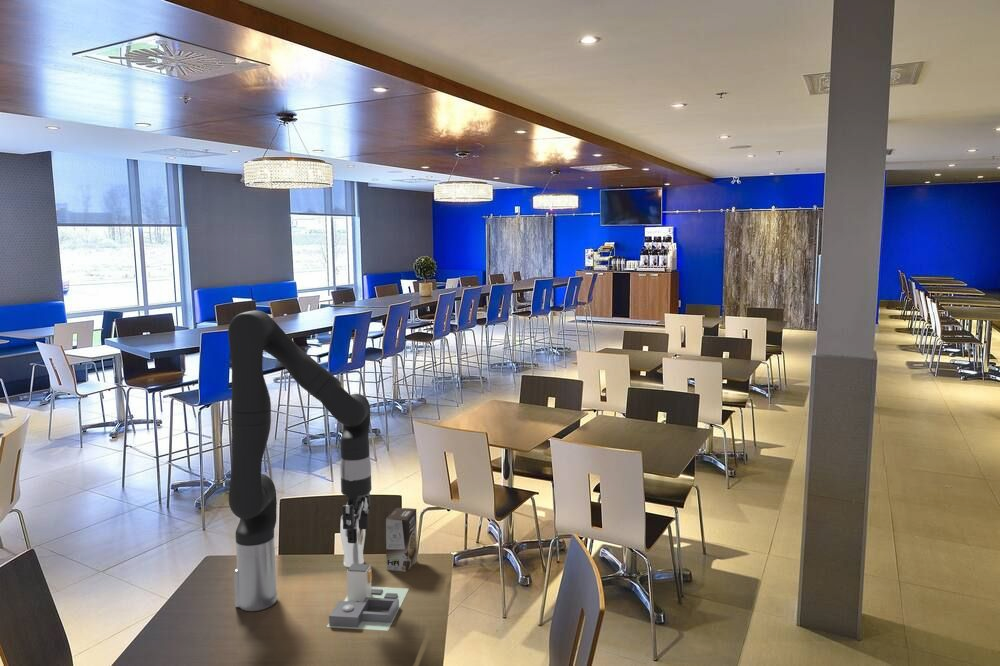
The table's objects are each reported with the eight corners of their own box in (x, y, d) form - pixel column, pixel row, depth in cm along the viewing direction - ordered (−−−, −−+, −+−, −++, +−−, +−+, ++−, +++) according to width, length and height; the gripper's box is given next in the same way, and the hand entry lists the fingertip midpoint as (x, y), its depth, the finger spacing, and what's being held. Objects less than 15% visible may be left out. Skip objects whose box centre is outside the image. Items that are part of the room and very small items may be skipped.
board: (326, 631, 158) (326, 618, 157) (354, 589, 177) (353, 578, 177) (388, 635, 156) (387, 622, 156) (409, 592, 176) (408, 581, 175)
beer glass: (354, 558, 195) (353, 509, 194) (371, 565, 191) (370, 515, 190) (336, 567, 190) (334, 517, 188) (352, 574, 186) (351, 523, 184)
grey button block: (329, 625, 158) (328, 614, 157) (344, 602, 168) (344, 591, 168) (357, 627, 157) (357, 615, 157) (371, 604, 168) (371, 593, 167)
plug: (347, 601, 169) (346, 570, 168) (352, 593, 173) (351, 563, 172) (368, 602, 168) (368, 571, 168) (373, 594, 172) (372, 564, 172)
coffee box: (407, 576, 185) (406, 520, 183) (385, 573, 186) (384, 518, 184) (418, 561, 194) (417, 508, 192) (397, 559, 195) (396, 506, 193)
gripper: (350, 464, 175) (352, 523, 176) (331, 483, 160) (333, 547, 162) (378, 465, 174) (380, 525, 176) (361, 483, 160) (363, 548, 161)
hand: (357, 535), depth 169 cm, fingers open, 8 cm apart
